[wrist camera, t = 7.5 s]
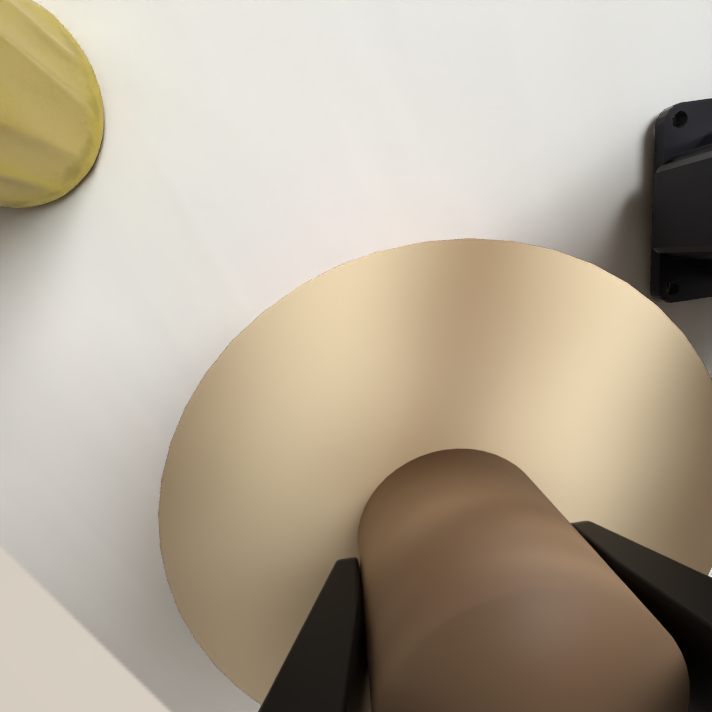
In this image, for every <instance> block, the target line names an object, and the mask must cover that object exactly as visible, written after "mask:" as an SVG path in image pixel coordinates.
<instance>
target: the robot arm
mask: <svg viewBox="0 0 712 712" xmlns="http://www.w3.org/2000/svg"><path fill="white" fill-rule="evenodd" d="M673 116H675V117H676V119H677V126H676V128H675V127H674V126H673V122H672V120H673ZM668 284H670V290H669V292H668V293H667V294H666V291H665V289H666V286H667V285H668ZM650 292H651V296H652V297H653V299H655V300H657V301H660V302H670V303H672V302H679V301H686V300H692V299H699V298H706V297H712V98H711V99H703V100H696V101H689V102H682V103H678V104H676V105H673V106H671V107H669V108H667V109H665V110H664V111H663V112H661V113H660V115H659V116H658V118H657V121H656V125H655V155H654V186H653V217H652V249H651V280H650ZM570 524H571V525H572V526H573V527H574V528H575V529H576V530H577V531H578V532H579V534H580V535H581V536H582V537H583V538H584V539H585V540H586V541H587V542H588V544H589V545H590V546H591V547H592V548H593V549H594V550H595V551H596V552H597V554H598V555H599V556H600V557H601V558H602V559H603V560H604V561H605V562H606V564H607V565H608V566H609V567H610V568H611V569H612V570H613V571H614V572H615V574H616V575H617V576H618V577H619V578H620V579H621V580H622V581H623V582H624V583H625V585H626V586H627V587H628V588H629V589H630V590H631V591H632V592H633V593H634V595H635V596H636V597H637V598H638V599H639V600H640V601H641V602H642V603H643V605H644V606H645V607H646V608H647V609H648V610H649V611H650V612H651V613H652V615H653V616H654V617H655V618H656V619H657V620H658V621H659V622H660V623H661V625H662V626H663V627H664V628H665V629H666V630H667V631H668V633H669V634H670V635H671V636H672V637H673V639H674V640H675V642H676V644H677V645H678V647H679V649H680V650H681V652H682V655H683V658H684V660H685V663H686V666H687V670H688V676H689V681H690V699H689V706H688V712H712V578H711V577H709V576H707V575H705V574H703V573H701V572H699V571H696V570H694V569H692V568H690V567H688V566H686V565H684V564H681V563H679V562H677V561H675V560H673V559H671V558H669V557H666V556H664V555H662V554H660V553H658V552H656V551H653V550H651V549H649V548H647V547H645V546H643V545H641V544H638V543H636V542H634V541H632V540H630V539H628V538H626V537H623V536H621V535H619V534H617V533H615V532H613V531H611V530H608V529H606V528H604V527H602V526H600V525H598V524H596V523H593V522H591V521H579V522H573V523H570ZM258 712H372V711H371V699H370V687H369V674H368V662H367V650H366V637H365V625H364V613H363V600H362V588H361V576H360V566H359V561H358V559H357V558H356V557H350V558H344V559H339V560H337V561H336V562H335V564H334V566H333V568H332V570H331V572H330V574H329V576H328V578H327V579H326V581H325V583H324V585H323V587H322V589H321V591H320V593H319V595H318V597H317V599H316V601H315V603H314V605H313V607H312V608H311V610H310V612H309V614H308V616H307V618H306V620H305V622H304V624H303V626H302V628H301V630H300V632H299V634H298V636H297V637H296V639H295V641H294V643H293V645H292V647H291V649H290V651H289V653H288V655H287V657H286V659H285V661H284V663H283V665H282V667H281V668H280V670H279V672H278V674H277V676H276V678H275V680H274V682H273V684H272V686H271V688H270V690H269V692H268V694H267V696H266V697H265V699H264V701H263V703H262V705H261V707H260V709H259V711H258Z"/></svg>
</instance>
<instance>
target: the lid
mask: <svg viewBox="0 0 712 712" xmlns="http://www.w3.org/2000/svg"><path fill="white" fill-rule="evenodd" d="M158 516H159V533H160V549H161V553H162V558H163V562H164V567H165V572H166V576H167V581H168V583H169V586H170V589H171V591H172V594H173V597H174V599H175V602H176V604H177V607H178V610H179V612H180V614H181V615H182V617H183V619H184V621H185V623H186V624H187V626H188V628H189V630H190V631H191V633H192V635H193V637H194V639H195V640H196V641H197V643H198V644H199V645H200V647H201V648H202V649H203V650H204V652H205V653H206V654H207V656H208V657H209V658H210V660H211V661H212V662H213V663H214V665H215V666H216V667H217V668H218V669H219V670H220V671H221V672H222V673H223V674H224V675H225V676H227V677H228V678H229V679H230V680H231V681H232V682H233V683H234V684H235V685H236V686H237V687H238V688H239V689H241V690H242V691H243V692H245V693H246V694H247V695H249V696H250V697H251V698H253V699H254V700H255V701H256V702H258V703H259V704H260V705H262V703H263V701H264V699H265V697H266V696H267V694H268V692H269V690H270V688H271V686H272V684H273V682H274V680H275V678H276V676H277V674H278V672H279V670H280V668H281V667H282V665H283V663H284V661H285V659H286V657H287V655H288V653H289V651H290V649H291V647H292V645H293V643H294V641H295V639H296V637H297V636H298V634H299V632H300V630H301V628H302V626H303V624H304V622H305V620H306V618H307V616H308V614H309V612H310V610H311V608H312V607H313V605H314V603H315V601H316V599H317V597H318V595H319V593H320V591H321V589H322V587H323V585H324V583H325V581H326V579H327V578H328V576H329V574H330V572H331V570H332V568H333V566H334V564H335V562H336V561H337V560H339V559H344V558H350V557H356V558H357V559H358V561H359V566H360V576H361V588H362V600H363V613H364V625H365V637H366V650H367V662H368V674H369V687H370V699H371V711H372V712H688V706H689V699H690V681H689V676H688V670H687V666H686V663H685V660H684V658H683V655H682V652H681V650H680V649H679V647H678V645H677V644H676V642H675V640H674V639H673V637H672V636H671V635H670V634H669V633H668V631H667V630H666V629H665V628H664V627H663V626H662V625H661V623H660V622H659V621H658V620H657V619H656V618H655V617H654V616H653V615H652V613H651V612H650V611H649V610H648V609H647V608H646V607H645V606H644V605H643V603H642V602H641V601H640V600H639V599H638V598H637V597H636V596H635V595H634V593H633V592H632V591H631V590H630V589H629V588H628V587H627V586H626V585H625V583H624V582H623V581H622V580H621V579H620V578H619V577H618V576H617V575H616V574H615V572H614V571H613V570H612V569H611V568H610V567H609V566H608V565H607V564H606V562H605V561H604V560H603V559H602V558H601V557H600V556H599V555H598V554H597V552H596V551H595V550H594V549H593V548H592V547H591V546H590V545H589V544H588V542H587V541H586V540H585V539H584V538H583V537H582V536H581V535H580V534H579V532H578V531H577V530H576V529H575V528H574V527H573V526H572V525H571V524H570V523H573V522H579V521H591V522H593V523H596V524H598V525H600V526H602V527H604V528H606V529H608V530H611V531H613V532H615V533H617V534H619V535H621V536H623V537H626V538H628V539H630V540H632V541H634V542H636V543H638V544H641V545H643V546H645V547H647V548H649V549H651V550H653V551H656V552H658V553H660V554H662V555H664V556H666V557H669V558H671V559H673V560H675V561H677V562H679V563H681V564H684V565H686V566H688V567H690V568H692V569H694V570H696V571H699V572H701V573H703V574H705V575H707V576H708V574H709V572H710V570H711V567H712V380H711V378H710V376H709V374H708V371H707V369H706V367H705V365H704V363H703V361H702V360H701V358H700V357H699V356H698V354H697V353H696V351H695V350H694V348H693V347H692V345H691V344H690V342H689V341H688V339H687V338H686V336H685V335H684V333H683V332H682V331H681V330H680V329H679V328H678V327H677V326H676V325H675V324H674V323H673V322H672V321H671V320H670V319H669V318H668V316H667V315H666V314H665V313H664V312H663V311H662V310H661V309H660V308H659V307H658V306H657V305H655V304H654V303H653V302H652V301H650V300H649V299H648V298H646V297H645V296H644V295H642V294H641V293H640V292H639V291H637V290H636V289H635V288H633V287H632V286H631V285H629V284H628V283H627V282H625V281H623V280H621V279H619V278H617V277H616V276H614V275H612V274H610V273H608V272H606V271H605V270H603V269H601V268H599V267H597V266H596V265H594V264H591V263H589V262H586V261H583V260H580V259H578V258H575V257H572V256H570V255H567V254H564V253H561V252H559V251H556V250H552V249H548V248H543V247H538V246H533V245H528V244H524V243H519V242H514V241H502V240H486V239H470V238H468V239H455V240H441V241H428V242H421V243H416V244H412V245H407V246H402V247H398V248H393V249H388V250H384V251H379V252H375V253H372V254H370V255H367V256H364V257H361V258H358V259H356V260H353V261H350V262H347V263H344V264H342V265H339V266H337V267H335V268H333V269H331V270H329V271H327V272H325V273H323V274H321V275H319V276H317V277H315V278H314V279H312V280H310V281H308V282H306V283H304V284H302V285H301V286H299V287H298V288H296V289H295V290H294V291H292V292H291V293H289V294H288V295H287V296H285V297H284V298H282V299H281V300H279V301H278V302H277V303H275V304H274V305H272V306H271V307H269V308H268V309H267V310H265V311H264V312H263V313H261V314H260V315H259V316H258V317H257V318H256V319H255V320H254V321H253V322H252V323H251V324H250V325H249V326H248V327H246V328H245V329H244V330H243V331H242V332H241V333H240V334H239V335H238V336H237V337H236V338H235V339H234V340H232V341H231V343H230V344H229V345H228V346H227V348H226V349H225V350H224V351H223V353H222V354H221V355H220V356H219V357H218V359H217V360H216V361H215V362H214V364H213V365H212V366H211V367H210V369H209V370H208V371H207V372H206V374H205V375H204V377H203V379H202V380H201V382H200V384H199V385H198V387H197V389H196V390H195V392H194V394H193V395H192V397H191V399H190V400H189V402H188V404H187V405H186V407H185V409H184V412H183V414H182V416H181V419H180V421H179V424H178V426H177V429H176V431H175V433H174V436H173V438H172V441H171V443H170V447H169V451H168V455H167V459H166V463H165V467H164V471H163V475H162V480H161V491H160V502H159V512H158Z"/></svg>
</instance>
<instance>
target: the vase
mask: <svg viewBox="0 0 712 712" xmlns="http://www.w3.org/2000/svg"><path fill="white" fill-rule="evenodd" d="M103 128H104V112H103V103H102V97H101V93H100V88H99V85H98V82H97V79H96V76H95V74H94V71H93V69H92V66H91V64H90V62H89V61H88V59H87V57H86V55H85V54H84V52H83V50H82V49H81V47H80V46H79V44H78V43H77V42H76V40H75V39H74V38H73V36H72V35H71V34H70V33H69V32H68V31H67V29H66V28H65V27H64V26H63V25H62V24H61V23H60V22H59V21H58V20H57V19H56V18H55V16H54V15H53V14H52V13H50V12H49V11H48V10H46V9H45V8H43V7H42V6H40V5H39V4H37V3H36V2H34V1H32V0H0V206H3V207H11V208H24V207H32V206H37V205H42V204H45V203H48V202H51V201H54V200H56V199H58V198H60V197H62V196H64V195H65V194H67V193H68V192H69V191H70V190H72V189H73V188H74V187H75V186H76V185H77V184H78V183H79V182H80V181H81V180H82V179H83V178H84V177H85V176H86V175H87V173H88V172H89V171H90V169H91V167H92V166H93V164H94V162H95V160H96V157H97V155H98V152H99V149H100V145H101V141H102V137H103Z"/></svg>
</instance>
